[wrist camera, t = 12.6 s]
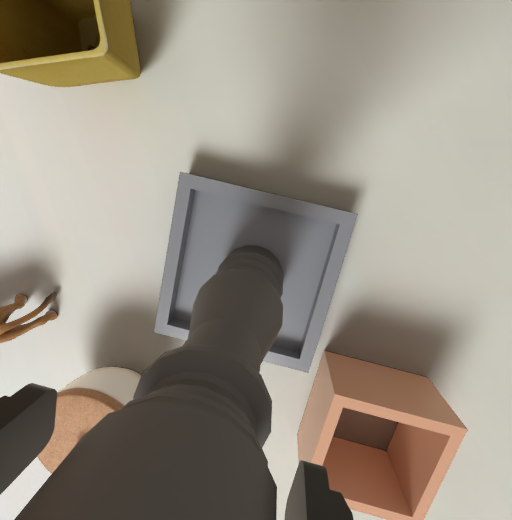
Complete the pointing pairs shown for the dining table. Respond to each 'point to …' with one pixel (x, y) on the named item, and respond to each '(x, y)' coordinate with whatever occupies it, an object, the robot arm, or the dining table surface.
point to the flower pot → (68, 41)
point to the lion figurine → (23, 318)
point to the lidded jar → (86, 408)
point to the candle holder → (187, 418)
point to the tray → (255, 234)
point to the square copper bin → (401, 445)
